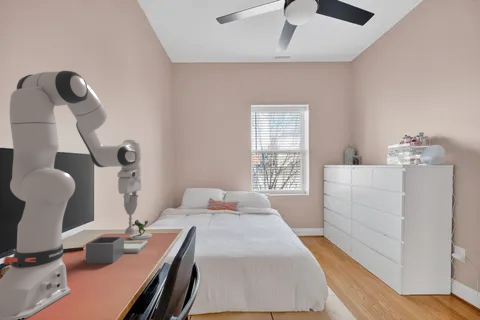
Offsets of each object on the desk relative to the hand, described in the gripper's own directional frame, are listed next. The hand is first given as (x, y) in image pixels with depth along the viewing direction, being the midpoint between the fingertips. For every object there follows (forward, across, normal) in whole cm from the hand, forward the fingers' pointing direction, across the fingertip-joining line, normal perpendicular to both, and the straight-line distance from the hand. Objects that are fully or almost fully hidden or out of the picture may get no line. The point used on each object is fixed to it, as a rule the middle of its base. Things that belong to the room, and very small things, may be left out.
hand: (130, 201), depth 126 cm
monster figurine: (+23, -22, -2) cm, 32 cm away
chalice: (+15, 0, 0) cm, 15 cm away
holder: (+23, +14, -5) cm, 27 cm away
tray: (+23, 0, 0) cm, 23 cm away
